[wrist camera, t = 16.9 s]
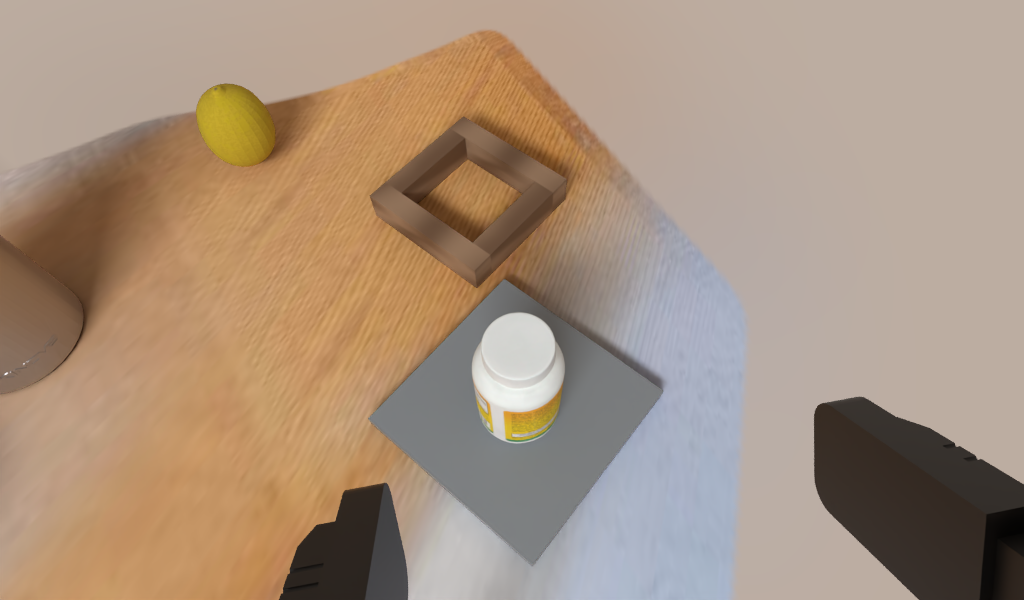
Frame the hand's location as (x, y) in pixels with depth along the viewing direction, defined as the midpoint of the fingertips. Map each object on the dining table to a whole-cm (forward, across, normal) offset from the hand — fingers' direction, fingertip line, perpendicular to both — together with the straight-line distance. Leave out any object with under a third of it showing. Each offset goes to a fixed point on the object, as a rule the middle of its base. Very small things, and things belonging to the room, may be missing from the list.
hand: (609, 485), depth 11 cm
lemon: (+47, +18, -6) cm, 51 cm away
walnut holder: (+41, 0, -1) cm, 41 cm away
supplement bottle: (+28, 0, +12) cm, 30 cm away
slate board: (+28, 0, +12) cm, 31 cm away
